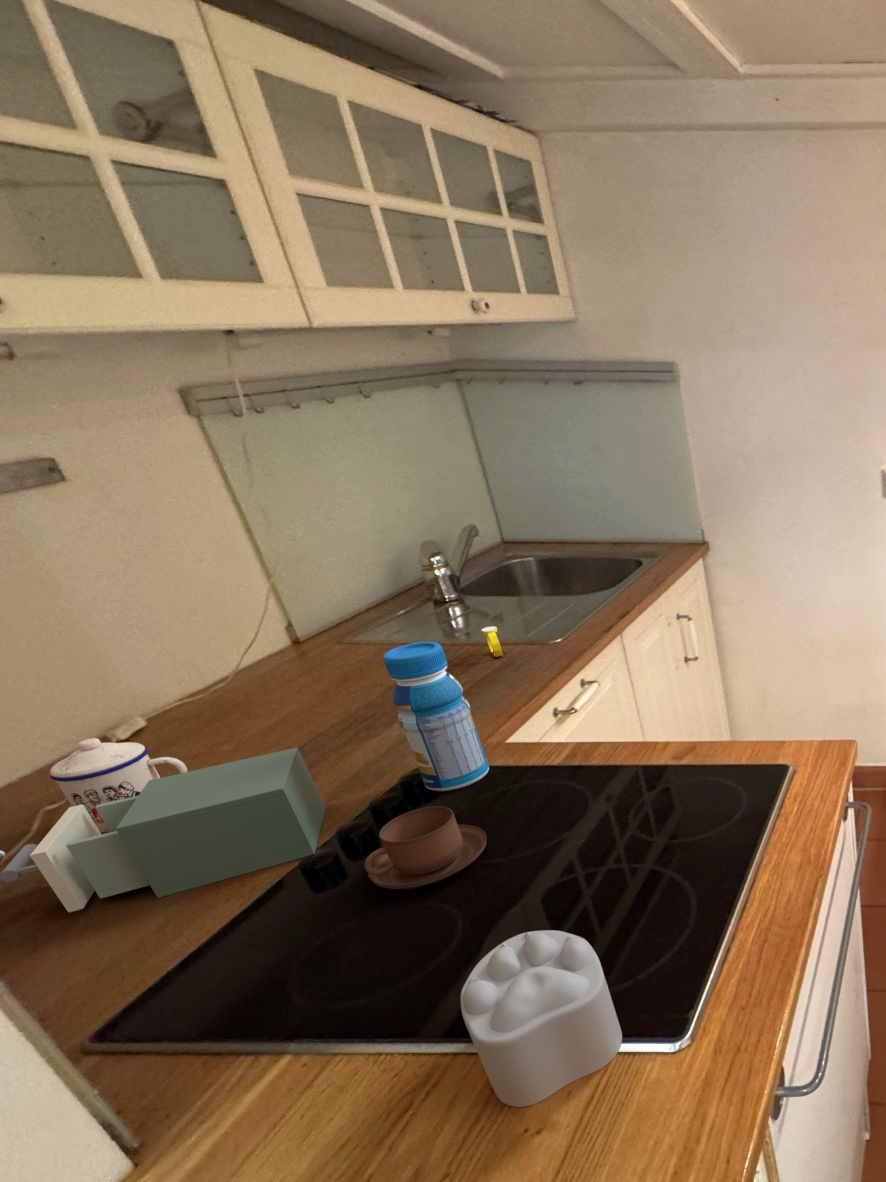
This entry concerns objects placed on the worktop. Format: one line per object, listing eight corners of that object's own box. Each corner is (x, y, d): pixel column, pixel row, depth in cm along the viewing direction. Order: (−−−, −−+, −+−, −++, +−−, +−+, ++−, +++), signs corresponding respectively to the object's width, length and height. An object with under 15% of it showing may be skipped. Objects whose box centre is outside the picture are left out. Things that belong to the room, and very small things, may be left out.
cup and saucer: (438, 903, 85) (420, 858, 83) (347, 894, 87) (326, 850, 85) (512, 840, 96) (498, 798, 93) (429, 834, 98) (413, 793, 96)
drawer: (14, 927, 83) (-28, 869, 80) (54, 873, 92) (18, 818, 88) (225, 869, 91) (195, 814, 88) (244, 825, 100) (217, 773, 97)
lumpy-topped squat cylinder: (501, 1122, 61) (467, 1044, 57) (472, 1022, 70) (442, 949, 66) (634, 1050, 66) (611, 975, 63) (591, 967, 76) (569, 897, 72)
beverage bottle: (472, 792, 107) (425, 659, 99) (411, 795, 107) (358, 663, 99) (502, 762, 115) (460, 637, 106) (444, 765, 115) (398, 640, 106)
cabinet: (157, 898, 88) (115, 828, 84) (185, 844, 98) (148, 780, 94) (314, 854, 95) (282, 788, 91) (326, 808, 105) (297, 747, 101)
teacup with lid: (72, 843, 99) (22, 765, 94) (98, 810, 106) (53, 736, 101) (194, 814, 104) (152, 739, 99) (211, 785, 112) (173, 714, 107)
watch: (486, 653, 158) (478, 626, 155) (501, 650, 159) (493, 623, 157) (492, 661, 154) (483, 633, 151) (508, 658, 155) (499, 630, 153)
